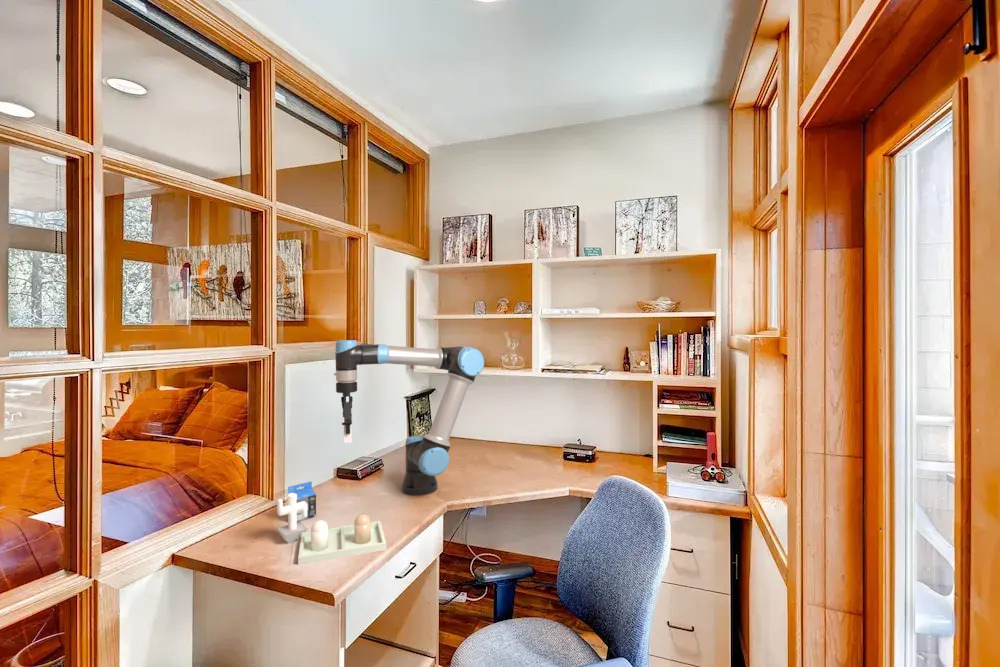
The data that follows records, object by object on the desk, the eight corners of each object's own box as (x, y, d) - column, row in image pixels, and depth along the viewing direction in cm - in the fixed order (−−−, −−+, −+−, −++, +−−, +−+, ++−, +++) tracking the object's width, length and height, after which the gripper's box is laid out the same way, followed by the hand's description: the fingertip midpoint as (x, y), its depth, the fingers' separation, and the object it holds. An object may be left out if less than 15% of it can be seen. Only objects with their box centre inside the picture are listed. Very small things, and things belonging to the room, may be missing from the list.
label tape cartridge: (291, 523, 164) (291, 489, 164) (287, 520, 167) (287, 487, 167) (316, 516, 170) (316, 483, 170) (312, 513, 173) (311, 481, 173)
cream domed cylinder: (328, 542, 147) (328, 516, 147) (328, 549, 142) (327, 522, 142) (311, 545, 145) (311, 518, 145) (310, 552, 140) (310, 525, 140)
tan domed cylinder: (370, 536, 151) (369, 510, 151) (371, 542, 147) (370, 516, 147) (354, 538, 150) (353, 512, 150) (354, 545, 145) (354, 518, 145)
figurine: (311, 538, 153) (310, 493, 153) (281, 547, 146) (281, 500, 146) (302, 531, 158) (302, 487, 158) (273, 540, 151) (273, 495, 151)
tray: (380, 529, 159) (380, 520, 159) (386, 552, 142) (386, 543, 142) (302, 541, 150) (301, 532, 150) (298, 568, 133) (298, 557, 133)
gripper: (335, 378, 181) (336, 432, 182) (336, 385, 158) (337, 447, 158) (355, 377, 184) (356, 430, 184) (359, 384, 161) (359, 445, 161)
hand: (347, 438), depth 171 cm, fingers open, 13 cm apart
